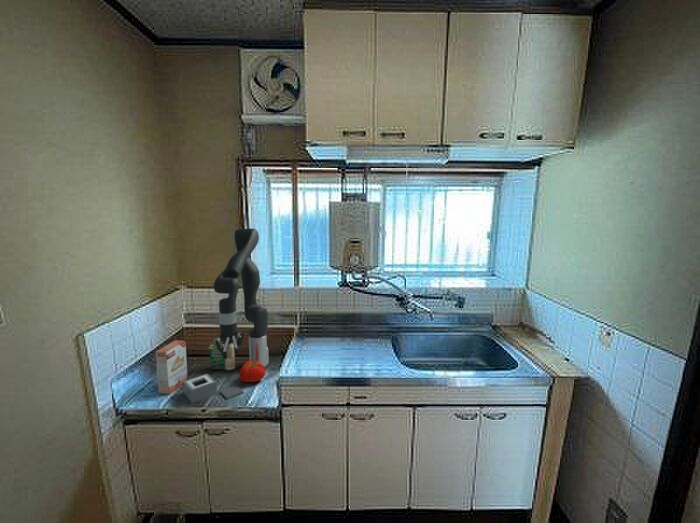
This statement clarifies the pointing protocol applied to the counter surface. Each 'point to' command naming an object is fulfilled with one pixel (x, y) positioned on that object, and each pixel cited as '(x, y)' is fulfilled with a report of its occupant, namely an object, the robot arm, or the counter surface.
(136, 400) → the counter surface
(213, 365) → the coffee box
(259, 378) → the tomato
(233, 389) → the mat
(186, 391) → the box
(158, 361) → the cracker box
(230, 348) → the beige ridged cylinder
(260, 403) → the counter surface
